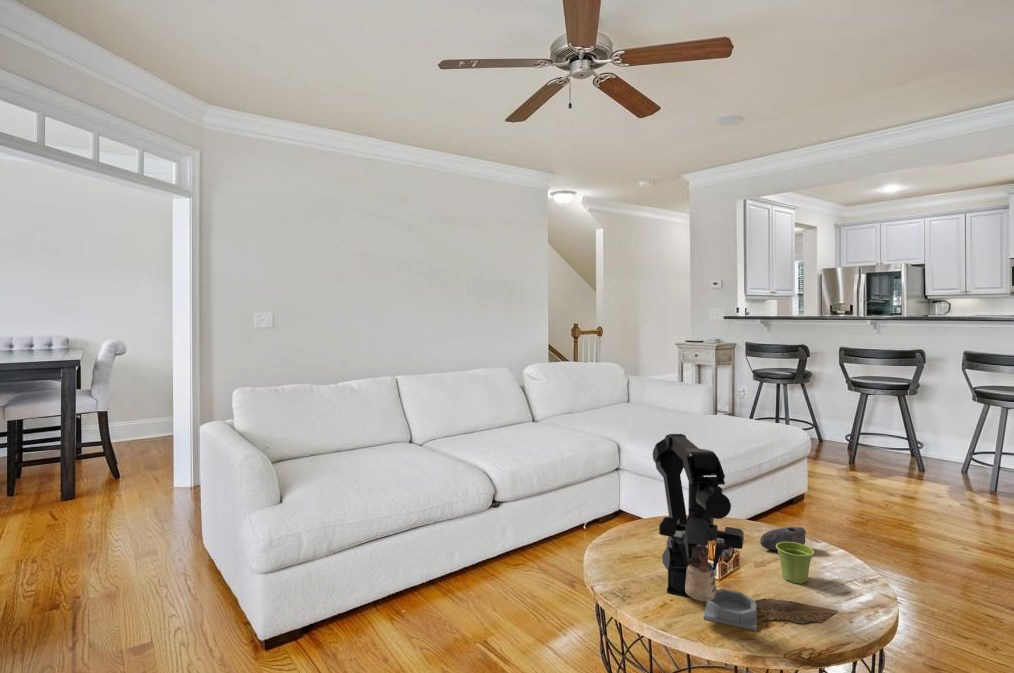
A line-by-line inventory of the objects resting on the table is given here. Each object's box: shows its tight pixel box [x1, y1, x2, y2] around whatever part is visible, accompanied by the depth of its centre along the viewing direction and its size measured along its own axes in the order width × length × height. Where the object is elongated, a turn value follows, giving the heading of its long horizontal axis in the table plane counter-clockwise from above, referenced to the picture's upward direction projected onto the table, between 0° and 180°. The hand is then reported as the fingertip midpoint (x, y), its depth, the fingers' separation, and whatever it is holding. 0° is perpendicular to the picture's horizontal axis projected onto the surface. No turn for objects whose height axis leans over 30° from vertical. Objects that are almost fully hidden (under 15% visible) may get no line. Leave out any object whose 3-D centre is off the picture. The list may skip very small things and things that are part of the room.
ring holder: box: [703, 588, 758, 632], centre depth 131 cm, size 12×12×3 cm
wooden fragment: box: [754, 597, 838, 625], centre depth 131 cm, size 26×11×1 cm, turn 85°
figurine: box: [685, 545, 717, 602], centre depth 127 cm, size 7×7×12 cm
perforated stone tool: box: [759, 526, 807, 552], centre depth 167 cm, size 15×5×7 cm, turn 91°
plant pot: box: [776, 542, 815, 585], centre depth 148 cm, size 9×9×9 cm
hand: (700, 566), depth 128 cm, fingers closed on figurine, 6 cm apart
